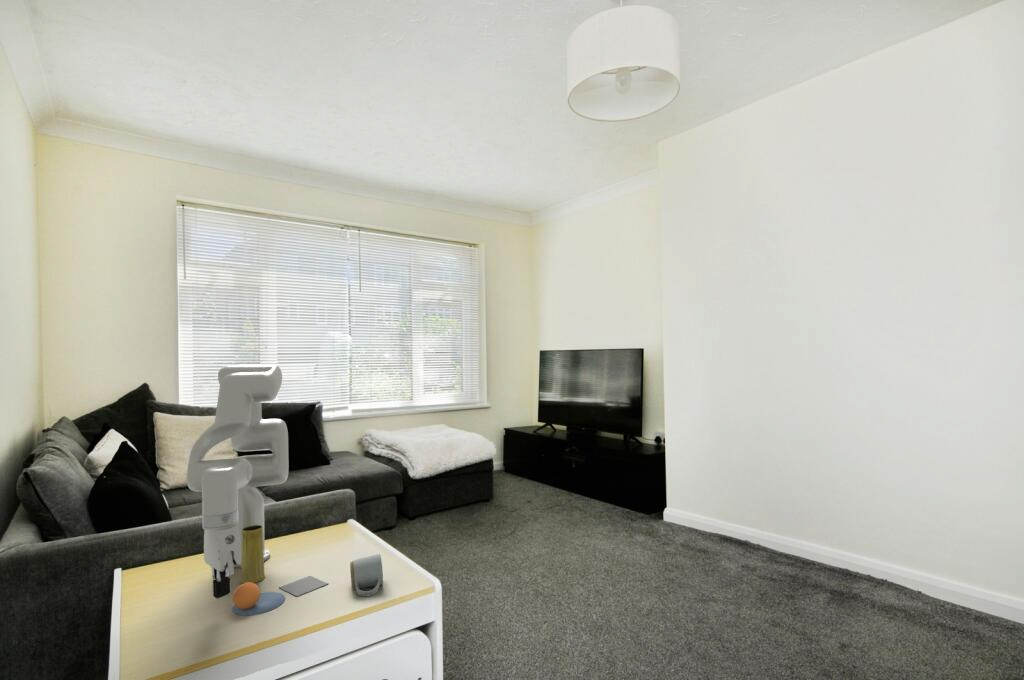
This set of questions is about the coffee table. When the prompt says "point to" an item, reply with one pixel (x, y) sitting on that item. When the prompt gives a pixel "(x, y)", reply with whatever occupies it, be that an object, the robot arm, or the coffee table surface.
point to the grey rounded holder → (366, 574)
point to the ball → (246, 595)
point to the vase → (252, 554)
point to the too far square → (303, 586)
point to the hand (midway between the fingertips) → (221, 595)
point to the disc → (262, 604)
